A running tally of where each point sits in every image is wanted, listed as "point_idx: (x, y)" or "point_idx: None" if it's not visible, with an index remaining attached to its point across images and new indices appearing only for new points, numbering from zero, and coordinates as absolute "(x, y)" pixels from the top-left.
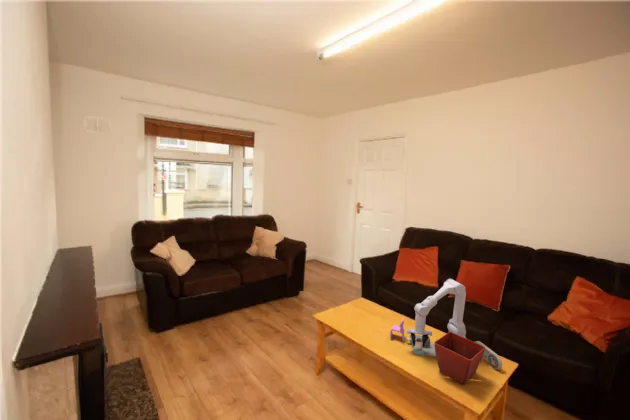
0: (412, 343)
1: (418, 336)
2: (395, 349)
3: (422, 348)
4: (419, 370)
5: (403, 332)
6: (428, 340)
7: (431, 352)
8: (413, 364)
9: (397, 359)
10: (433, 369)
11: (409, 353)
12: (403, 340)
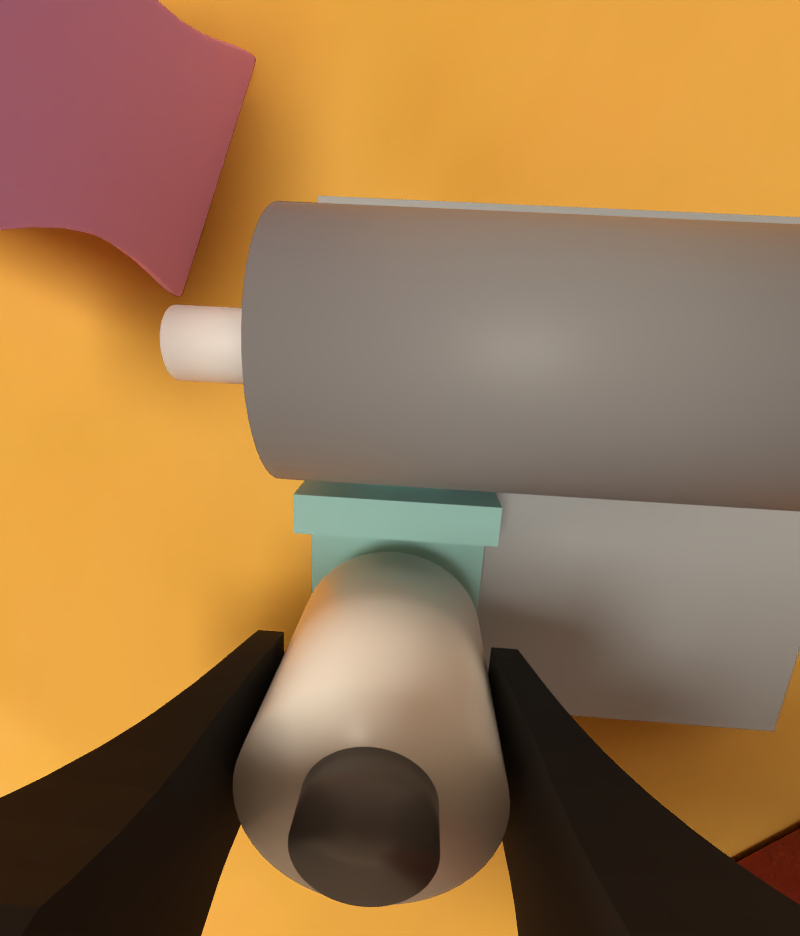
0: (296, 509)
1: (507, 398)
2: (8, 529)
3: (528, 500)
4: (301, 931)
5: (35, 21)
6: (791, 500)
7: (659, 612)
8: (249, 842)
9: (34, 762)
10: (498, 913)
11: (242, 618)
12: (160, 247)
